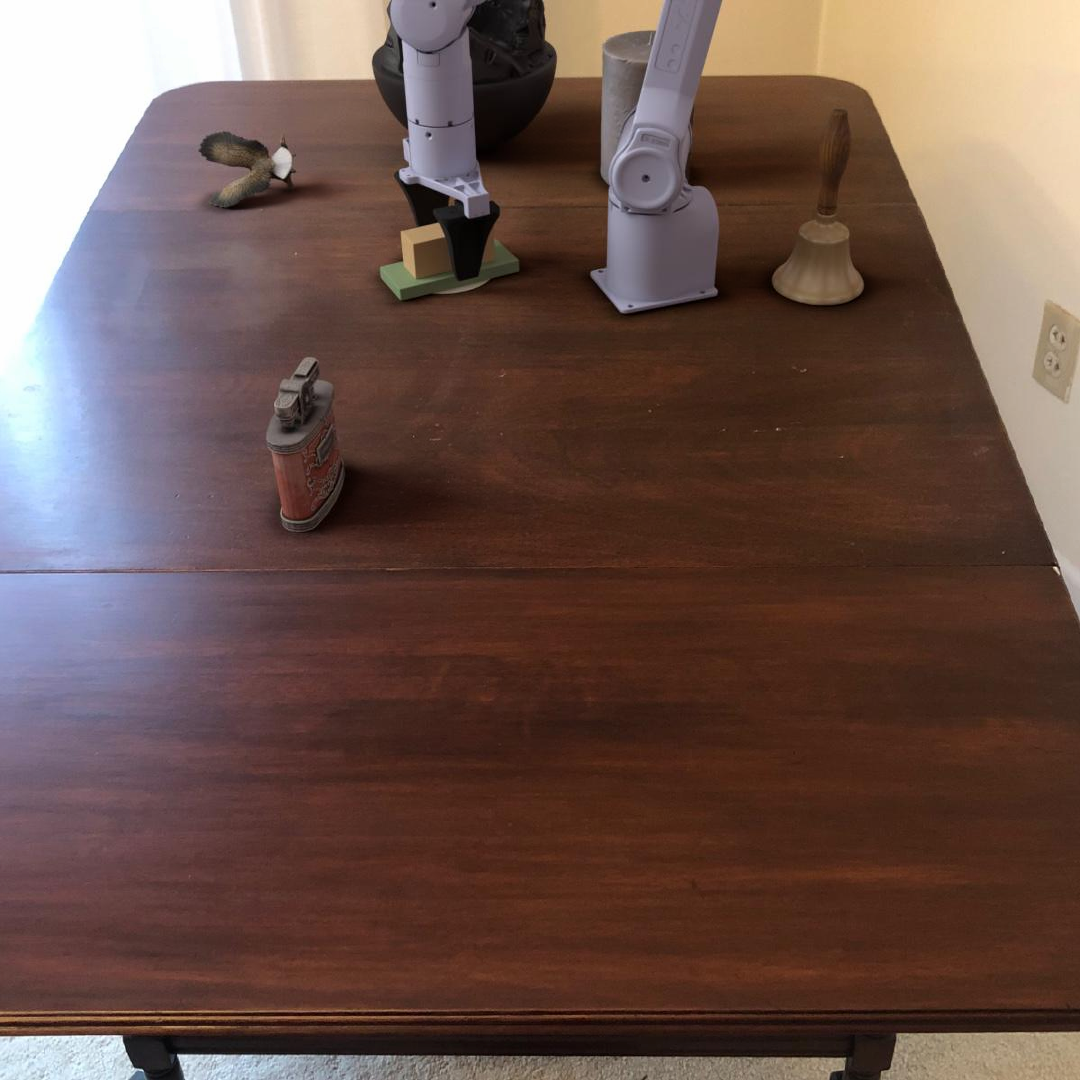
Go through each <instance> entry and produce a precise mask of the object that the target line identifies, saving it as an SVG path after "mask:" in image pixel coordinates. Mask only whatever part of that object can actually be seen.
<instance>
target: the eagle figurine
mask: <svg viewBox="0 0 1080 1080" xmlns="http://www.w3.org/2000/svg"><path fill="white" fill-rule="evenodd" d="M285 137H286V136H285V135H284V133H283V134H281V136H280V141H279V146H280V147H279V148H278V149H277V150H276V152H274V154H273V155H272V156H270V155H269V150H268V148H267V146H265V145H264V144H263V143H262V142H260V141H259V140H257V139H247V138H244V137H243V136H239V135H236V134H232V133H231V132H229V131H225V130H222V131H218V132H214V133H211V134H207V135H205V138H203V139H202V142H200V143H199V146H200V147H199V148H198V153H200V155H201V156H202V157H203V158H204V157H205V161H208V162H211V163H215V164H219V165H223V166H227V167H232V168H245V169H248V170H249V172H248V173H247V174H245V175H243V176H241V177H239V178H237V179H235V180H233V181H231V182H229V183H228V184H227V185H226V186H225V187H224V188H223V189H221V190H218V191H216V192H214V194H213V196H211V199H210V200H209V201H208V202H209V205H210V206H213V207H219V208H230V207H231V206H232V207H233V206H235V205H236V204H239V203H240V202H241V201H243V200H245V199H247V197H250V196H251V195H252V196H253V195H254V194H261V193H262V192H264V191H266V190H267V189H268V188H269V186H270V185H271V184H270V182H271V179H272V180H278V181H282V182H283V183H285V184H286V186H287V188H289V189H290V190H293V189H294V183H293V181H292V174H296V173H297V170H296V169H294V168H293V161H294V159H293V158H294V157H296V156H297V153H295V152H294V153H291V152H290V150H289V148H288V145H287V144H286V138H285Z"/></svg>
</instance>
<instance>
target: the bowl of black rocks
mask: <svg viewBox="0 0 1080 1080" xmlns="http://www.w3.org/2000/svg"><path fill="white" fill-rule="evenodd" d="M391 3H392V0H390V1H389V2H388V5H387V7H386V14H387V17H388V19H389V22H390V23H389V24H390V26H389V29H388V31H387V33H386V39H385V40H384V43H383V44H382V45H381V46H380V47H378V48H377V49H376V50H375V51H374V52H373V55H372V58H371V68H372V72H373V77H374V80H375V83H376V86H377V89H378V91H379V93H380V95H381V98H382V100H383V102H384V103H385V105H386V106H387V108H388V110H389V111H390V112H391V114H392V115H393V117H394V118H395V119H396V120H397V121H398V123H400V124H401V126H403V127H404V128H405V129H406V130H407V132H409V128H408V117H407V106H406V94H405V82H404V70H403V62H404V58H403V46H402V39H401V38H400V36H399V35H398V34H397V32H396V30H395V28H394V26H393V23H392V20H391ZM545 10H546V8H545V3H544V0H485V1H484V2H483V3H481V4H479V5H476V7H475V10H474V13H473V15H472V17H471V18H470V19H469V21H468V22H467V23H466V26H467V27H468V32H469V52H470V58H471V65H472V85H473V106H474V127H475V147H476V152H481V151H486V150H490V149H494V148H497V147H499V146H501V145H503V144H506V143H507V142H509V141H511V140H513V139H514V138H515V137H517V136H518V135H520V134H521V133H522V132H523V131H524V130H525V129H527V128H528V127H529V126H530V124H532V122H533V121H534V120H535V119H536V117H537V116H538V115H539V113H540V112H541V110H542V109H543V107H544V105H545V104H546V102H547V99H548V98H549V95H550V93H551V90H552V88H553V84H554V81H555V77H556V71H557V64H558V54H557V50H556V48H555V47H554V46H553V45H552V43H550V42H549V41H547V40H546V29H547V22H546V21H547V19H546V15H545Z"/></svg>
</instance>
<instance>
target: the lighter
mask: <svg viewBox="0 0 1080 1080" xmlns="http://www.w3.org/2000/svg"><path fill="white" fill-rule="evenodd" d="M320 376H321V368H320V362H319V360H318V359H316V358H315V357H308V356H307V357H304V359H303V360H302V361H301V363H300V364H299V365H298V367H297V368H296V370H295V371H294V373H293V375H291V377H290V378H289V379H286V378H284V379H283V378H282V380H281V382H280V384H279V388H278V395H277V396H278V397H276V399H275V401H274V403H273V405H274V413H273V415H272V417H271V419H270V421H269V424H268V427H267V430H266V433H265V440H266V445H267V448H268V449H269V451H271V455H272V461H273V467H274V471H275V477H276V482H277V489H278V494H279V499H280V504H281V508H280V512H279V513H280V520H281V523H282V524H281V525H282V526H283V528H284V529H285V530H288V531H290V532H295V533H303V532H308V531H310V530H314V528H316V527H317V526H318V525H319V524H320V523H321V521H322V520H323V519H324V518H325V517H326V516H327V515H328V514H329V512H330V511H331V509H332V508H333V506H334V505H335V503H336V502H337V500H338V497H339V495H340V492H341V490H342V488H343V485H344V480H345V477H346V472H345V464H344V460H343V459H342V458H341V454H340V448H339V439H338V433H337V427H336V426H337V425H336V419H335V412H334V405H333V404H334V401H335V392H334V386H333V384H332V383H331V382H329V381H326V380H323V379H319V378H320Z"/></svg>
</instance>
